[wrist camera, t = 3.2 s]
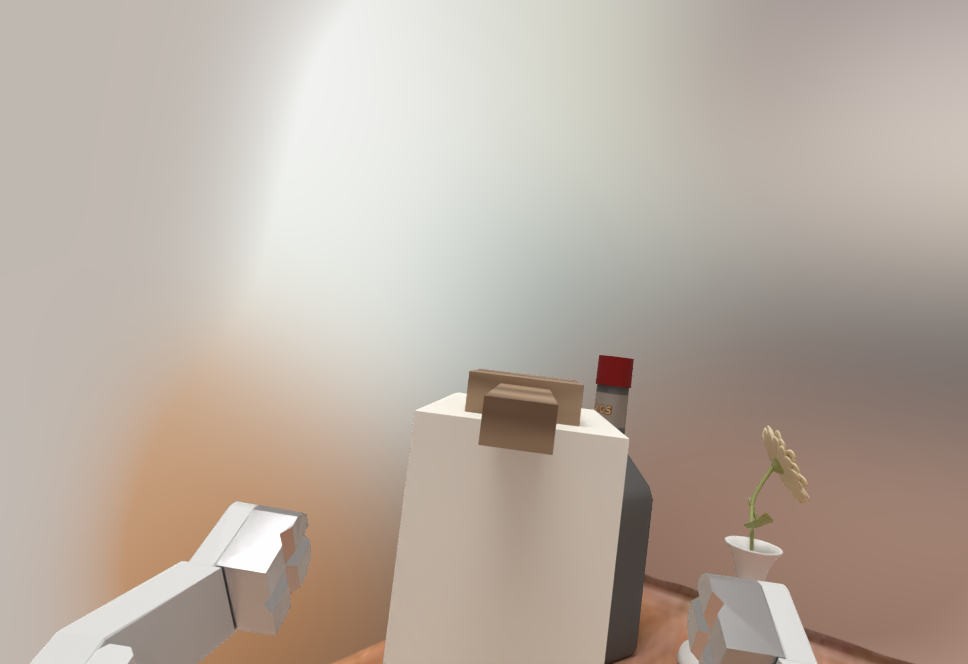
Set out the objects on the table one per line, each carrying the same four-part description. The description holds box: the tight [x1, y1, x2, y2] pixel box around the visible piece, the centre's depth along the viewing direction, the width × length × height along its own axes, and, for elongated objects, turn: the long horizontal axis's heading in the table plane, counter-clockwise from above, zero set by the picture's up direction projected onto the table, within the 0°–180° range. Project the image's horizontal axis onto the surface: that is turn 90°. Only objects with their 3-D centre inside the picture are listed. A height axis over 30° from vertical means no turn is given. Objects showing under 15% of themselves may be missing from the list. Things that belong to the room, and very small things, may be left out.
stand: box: [383, 392, 629, 664], centre depth 41 cm, size 18×12×25 cm, turn 175°
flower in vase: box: [676, 426, 810, 664], centre depth 55 cm, size 13×11×25 cm
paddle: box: [465, 369, 584, 455], centre depth 33 cm, size 20×7×2 cm, turn 175°
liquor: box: [594, 355, 653, 664], centre depth 61 cm, size 9×9×30 cm
